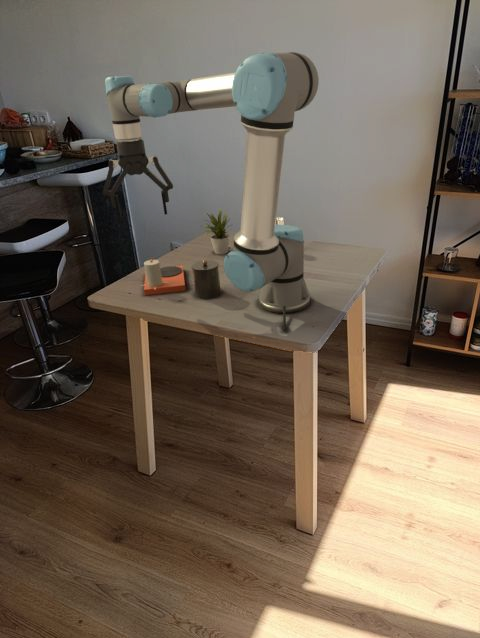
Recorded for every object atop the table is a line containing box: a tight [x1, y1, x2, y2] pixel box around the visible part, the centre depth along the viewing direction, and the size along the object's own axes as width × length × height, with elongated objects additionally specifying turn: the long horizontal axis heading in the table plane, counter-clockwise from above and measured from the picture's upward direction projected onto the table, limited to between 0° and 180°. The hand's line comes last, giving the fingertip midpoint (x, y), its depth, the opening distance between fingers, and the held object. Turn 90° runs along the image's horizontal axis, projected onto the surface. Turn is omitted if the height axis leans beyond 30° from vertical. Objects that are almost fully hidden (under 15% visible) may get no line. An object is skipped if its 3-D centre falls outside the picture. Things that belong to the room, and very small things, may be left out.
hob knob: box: [143, 258, 163, 287], centre depth 154 cm, size 5×5×8 cm
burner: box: [160, 265, 182, 277], centre depth 165 cm, size 9×9×1 cm
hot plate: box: [141, 264, 187, 296], centre depth 162 cm, size 19×14×2 cm
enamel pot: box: [191, 259, 222, 300], centre depth 150 cm, size 8×8×11 cm
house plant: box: [201, 208, 232, 255], centre depth 183 cm, size 14×14×16 cm
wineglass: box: [275, 216, 286, 225], centre depth 182 cm, size 6×6×12 cm
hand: (143, 215), depth 145 cm, fingers open, 13 cm apart
